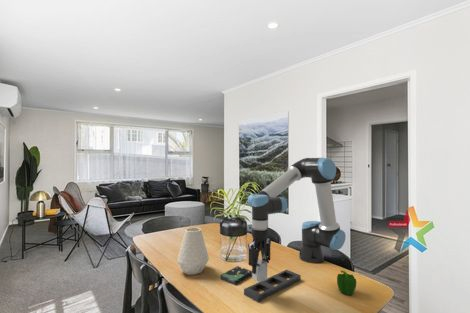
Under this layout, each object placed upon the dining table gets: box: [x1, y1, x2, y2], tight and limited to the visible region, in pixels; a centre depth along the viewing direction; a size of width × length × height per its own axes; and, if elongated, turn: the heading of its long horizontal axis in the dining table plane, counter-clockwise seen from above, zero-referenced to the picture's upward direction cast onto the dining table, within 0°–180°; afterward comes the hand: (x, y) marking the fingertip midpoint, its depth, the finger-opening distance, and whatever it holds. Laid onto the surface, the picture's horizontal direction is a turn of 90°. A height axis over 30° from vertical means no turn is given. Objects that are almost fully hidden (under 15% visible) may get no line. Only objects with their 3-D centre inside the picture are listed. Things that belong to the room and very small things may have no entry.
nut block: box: [251, 258, 268, 283], centre depth 121 cm, size 5×5×8 cm
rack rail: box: [243, 269, 301, 303], centre depth 128 cm, size 32×9×2 cm, turn 131°
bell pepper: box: [336, 270, 357, 296], centre depth 123 cm, size 8×8×10 cm
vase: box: [176, 227, 209, 276], centre depth 146 cm, size 18×17×23 cm
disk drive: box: [220, 265, 252, 286], centre depth 138 cm, size 10×3×15 cm
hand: (259, 278), depth 121 cm, fingers closed on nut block, 5 cm apart
